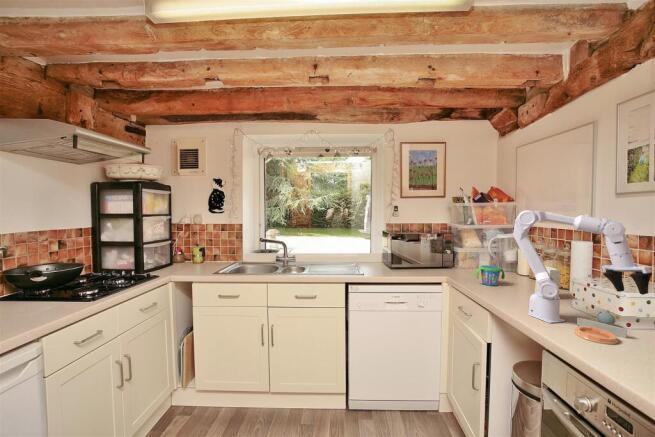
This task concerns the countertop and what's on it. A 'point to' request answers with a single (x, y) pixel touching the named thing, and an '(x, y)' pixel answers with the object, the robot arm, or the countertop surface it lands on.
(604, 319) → the ball
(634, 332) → the countertop surface
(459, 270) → the countertop surface
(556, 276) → the skincare box
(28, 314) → the countertop surface
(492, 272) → the snack cup
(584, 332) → the bowl
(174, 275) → the countertop surface
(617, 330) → the acrylic wall
